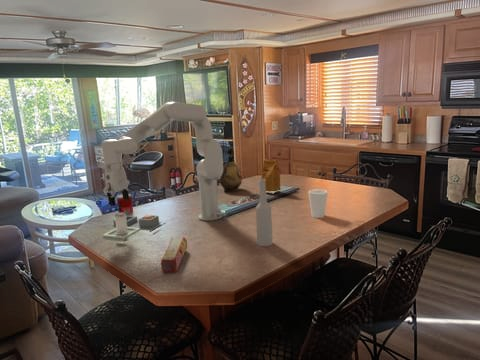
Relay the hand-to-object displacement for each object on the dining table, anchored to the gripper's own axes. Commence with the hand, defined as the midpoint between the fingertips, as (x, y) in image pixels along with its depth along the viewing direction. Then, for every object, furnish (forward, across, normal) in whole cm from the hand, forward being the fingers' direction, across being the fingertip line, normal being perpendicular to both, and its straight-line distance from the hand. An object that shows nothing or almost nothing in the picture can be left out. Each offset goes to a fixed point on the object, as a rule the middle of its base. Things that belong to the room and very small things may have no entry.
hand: (119, 202), depth 169 cm
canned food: (+17, +30, +23) cm, 41 cm away
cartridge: (+16, -1, +1) cm, 16 cm away
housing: (+17, +12, +2) cm, 21 cm away
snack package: (+18, -19, -39) cm, 47 cm away
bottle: (+18, +6, -68) cm, 71 cm away
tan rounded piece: (+15, +12, -6) cm, 20 cm away
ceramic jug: (+20, +94, -17) cm, 98 cm away
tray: (+17, -1, +1) cm, 17 cm away
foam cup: (+20, +48, -84) cm, 99 cm away
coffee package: (+20, +92, -46) cm, 105 cm away
